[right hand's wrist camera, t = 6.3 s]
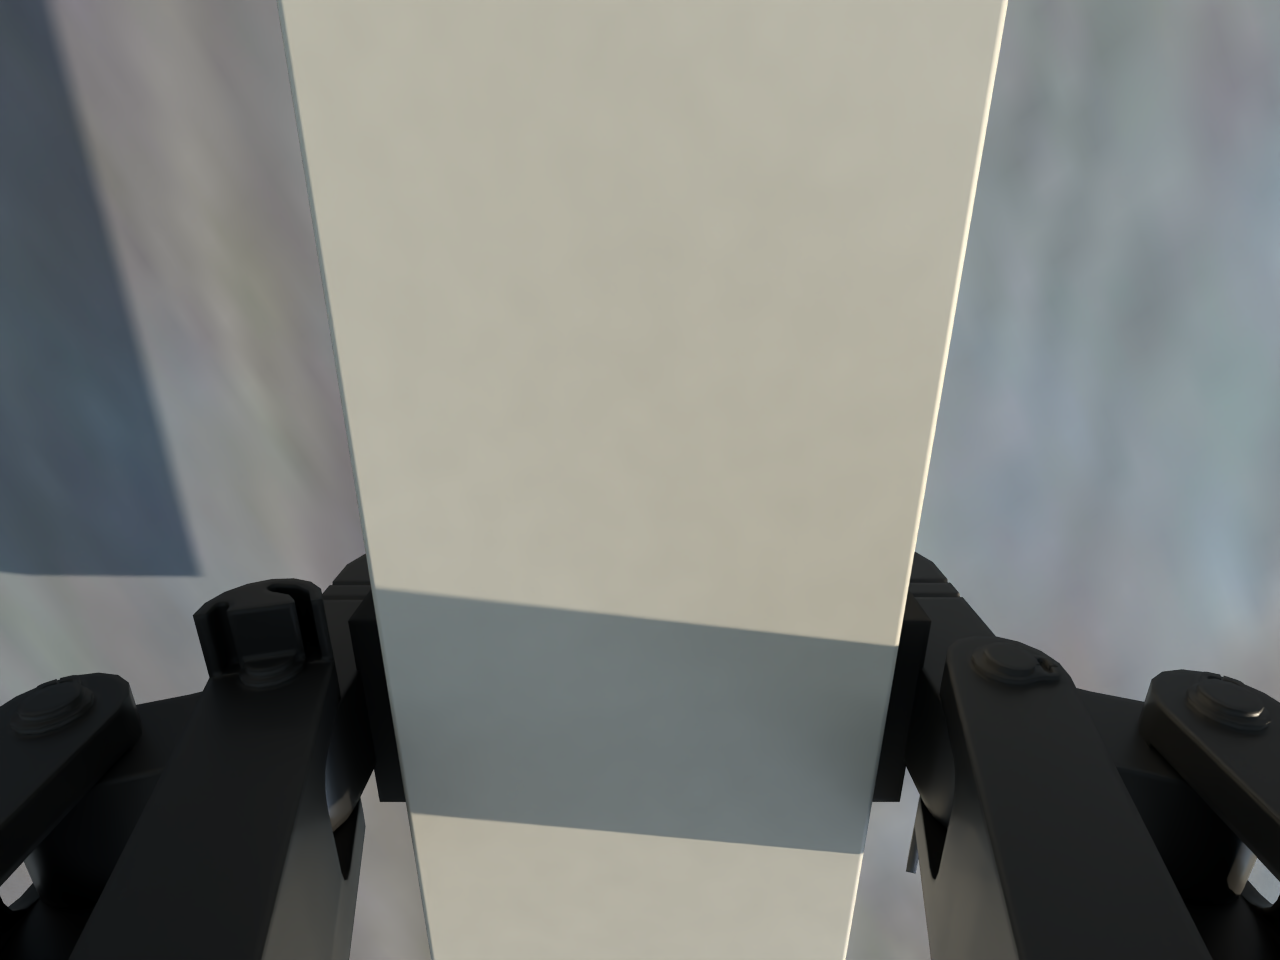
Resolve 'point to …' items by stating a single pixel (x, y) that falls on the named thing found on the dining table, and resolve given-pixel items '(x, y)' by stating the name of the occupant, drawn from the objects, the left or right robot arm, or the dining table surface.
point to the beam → (640, 435)
